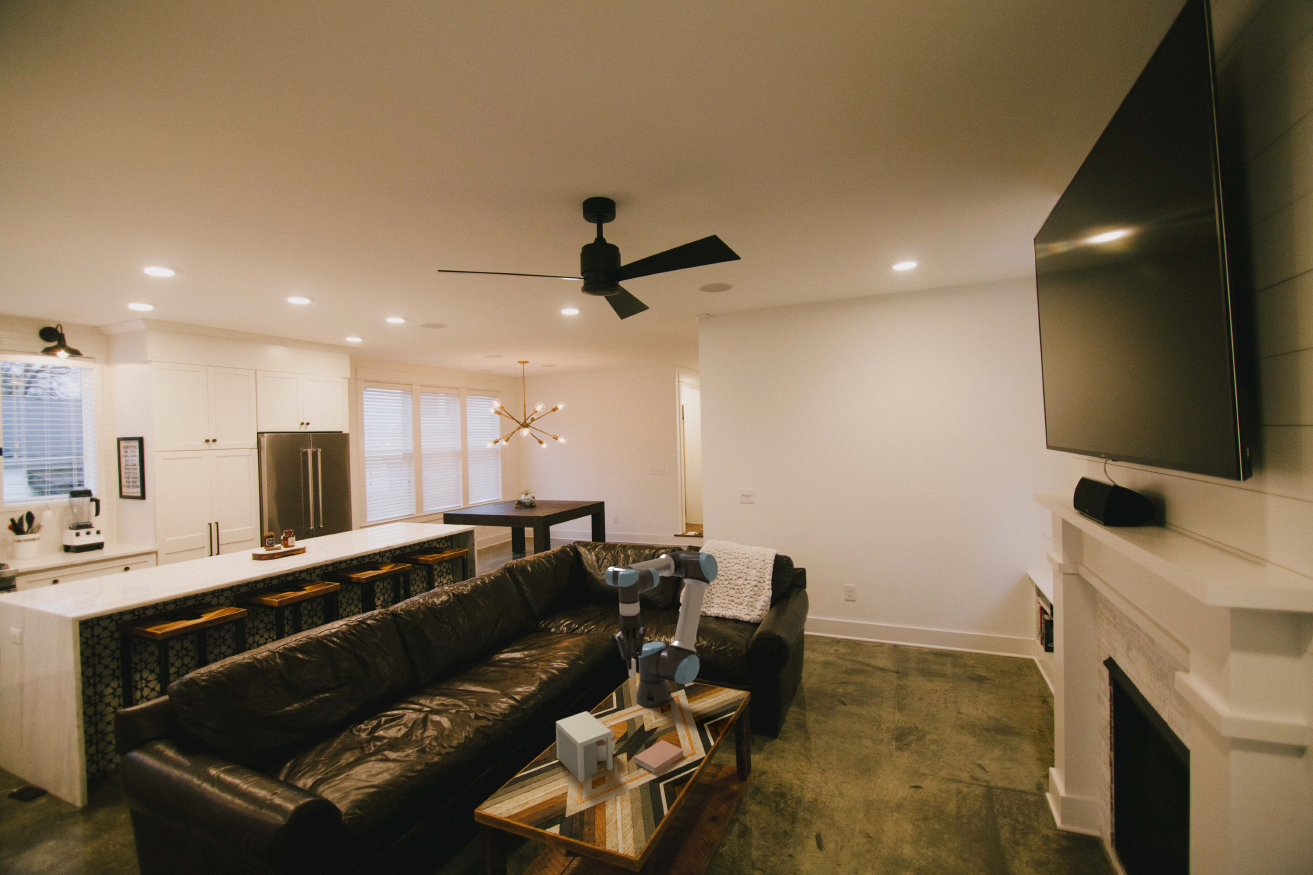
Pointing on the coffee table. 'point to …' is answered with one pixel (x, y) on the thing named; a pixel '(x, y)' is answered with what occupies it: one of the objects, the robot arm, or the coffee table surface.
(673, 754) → the book
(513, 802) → the coffee table surface
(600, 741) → the lidded jar
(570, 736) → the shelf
